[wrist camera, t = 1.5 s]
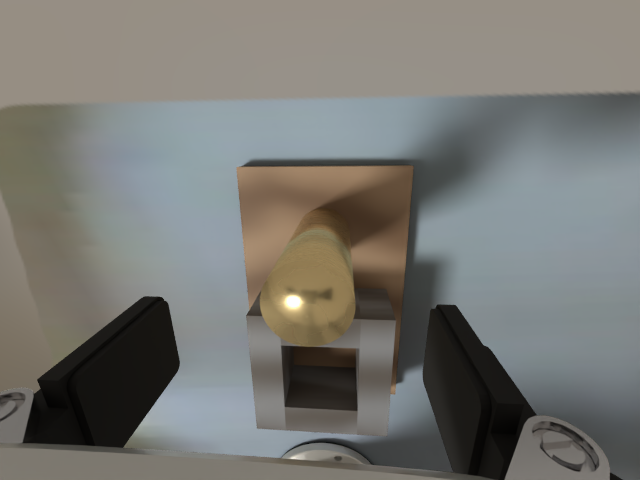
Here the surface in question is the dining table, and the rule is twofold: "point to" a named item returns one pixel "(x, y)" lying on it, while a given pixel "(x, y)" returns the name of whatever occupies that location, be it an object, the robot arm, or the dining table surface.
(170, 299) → the dining table surface
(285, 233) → the socket board
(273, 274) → the peg
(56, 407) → the robot arm
